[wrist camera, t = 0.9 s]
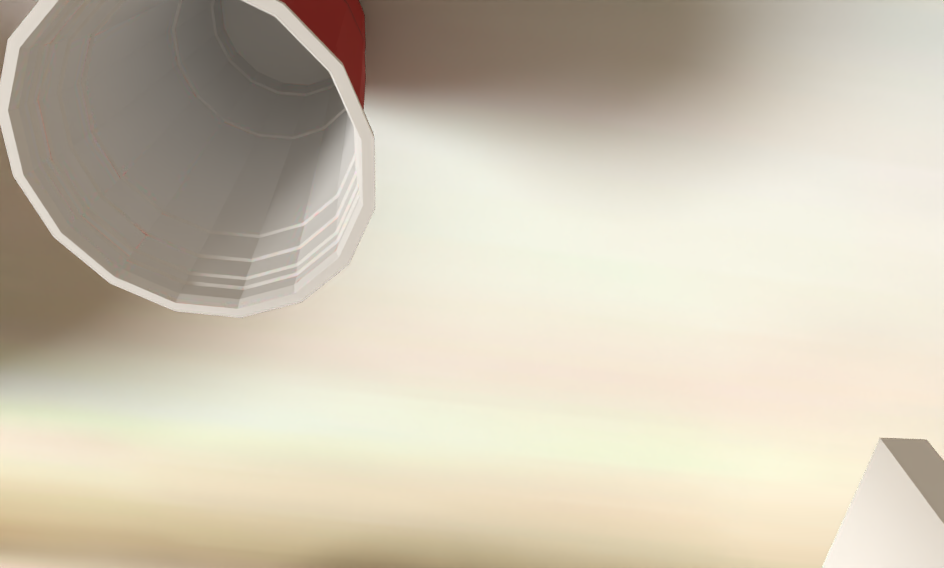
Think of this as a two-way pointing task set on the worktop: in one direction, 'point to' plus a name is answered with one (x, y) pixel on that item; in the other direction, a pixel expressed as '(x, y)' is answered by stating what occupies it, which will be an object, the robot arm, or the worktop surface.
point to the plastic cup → (195, 143)
